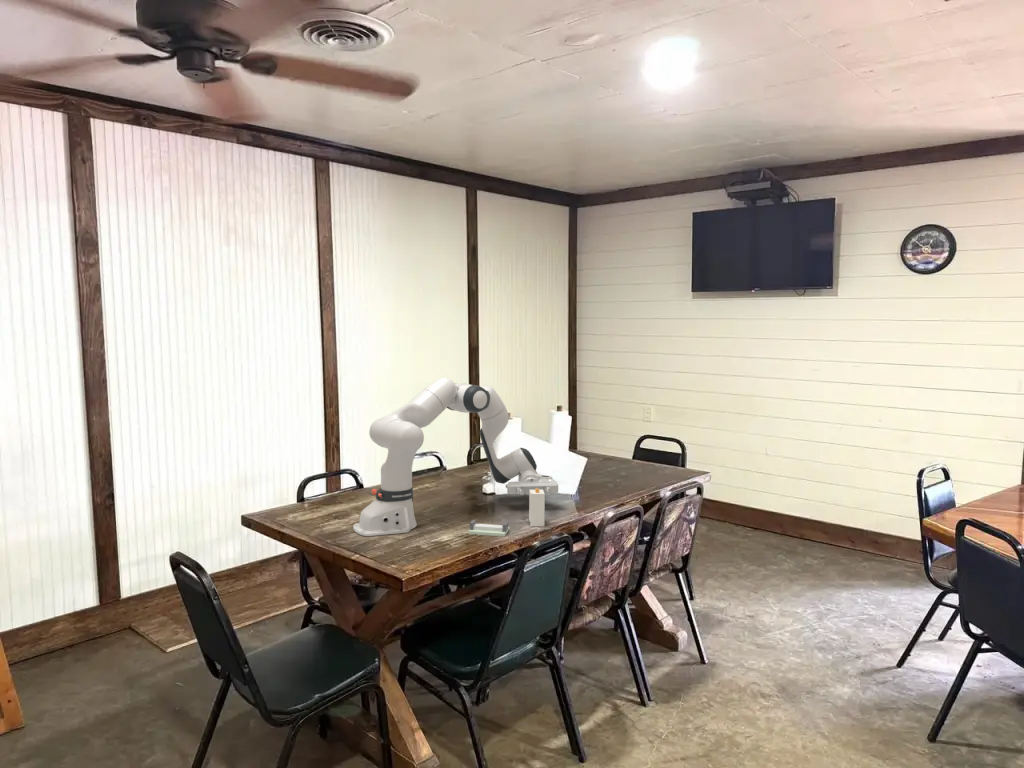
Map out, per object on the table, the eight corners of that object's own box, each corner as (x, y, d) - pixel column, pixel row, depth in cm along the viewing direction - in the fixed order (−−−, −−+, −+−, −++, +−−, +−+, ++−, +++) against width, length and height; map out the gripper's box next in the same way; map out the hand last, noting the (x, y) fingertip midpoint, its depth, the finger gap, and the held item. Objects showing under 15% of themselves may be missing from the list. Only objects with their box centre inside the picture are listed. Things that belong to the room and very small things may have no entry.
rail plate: (474, 527, 251) (474, 518, 250) (509, 529, 248) (509, 520, 248) (468, 534, 243) (468, 524, 242) (504, 536, 240) (504, 527, 240)
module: (529, 521, 259) (529, 486, 257) (542, 521, 259) (542, 486, 258) (530, 526, 252) (530, 490, 251) (544, 526, 253) (544, 490, 251)
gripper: (505, 477, 280) (507, 485, 266) (555, 476, 281) (560, 484, 267) (505, 492, 280) (507, 501, 267) (555, 491, 282) (560, 500, 268)
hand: (534, 492), depth 267 cm, fingers open, 8 cm apart
